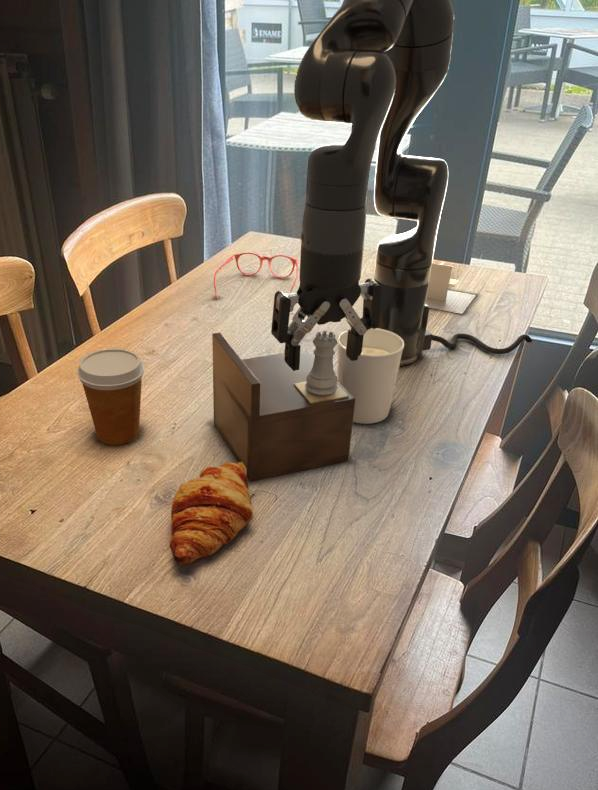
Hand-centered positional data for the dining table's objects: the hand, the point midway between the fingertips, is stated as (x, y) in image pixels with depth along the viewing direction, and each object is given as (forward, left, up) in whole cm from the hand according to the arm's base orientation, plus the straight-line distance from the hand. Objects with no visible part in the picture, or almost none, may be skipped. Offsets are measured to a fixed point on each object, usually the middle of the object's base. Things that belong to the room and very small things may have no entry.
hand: (323, 363), depth 96 cm
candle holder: (-12, -8, -15) cm, 21 cm away
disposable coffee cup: (+26, -14, -15) cm, 33 cm away
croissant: (+19, +10, -15) cm, 26 cm away
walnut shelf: (+4, -4, -14) cm, 16 cm away
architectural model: (-48, -45, -15) cm, 68 cm away
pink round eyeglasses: (-15, -62, -15) cm, 66 cm away
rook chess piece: (0, 0, -4) cm, 4 cm away
